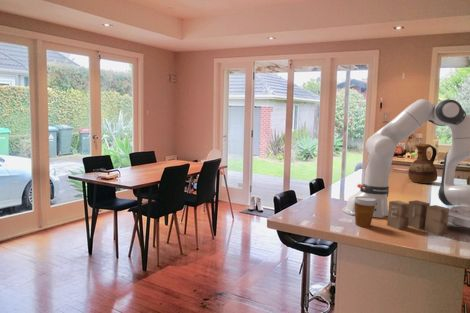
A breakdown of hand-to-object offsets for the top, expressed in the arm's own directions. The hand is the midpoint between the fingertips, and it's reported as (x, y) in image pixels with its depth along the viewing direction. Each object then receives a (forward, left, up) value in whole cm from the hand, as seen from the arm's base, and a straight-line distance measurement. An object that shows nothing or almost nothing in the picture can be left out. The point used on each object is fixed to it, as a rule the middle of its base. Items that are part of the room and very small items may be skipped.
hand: (441, 219), depth 161 cm
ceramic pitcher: (+61, +125, -6) cm, 140 cm away
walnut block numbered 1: (-7, +6, -6) cm, 11 cm away
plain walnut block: (-3, -2, -6) cm, 7 cm away
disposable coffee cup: (-32, +5, -6) cm, 33 cm away
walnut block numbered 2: (-17, +5, -6) cm, 18 cm away
